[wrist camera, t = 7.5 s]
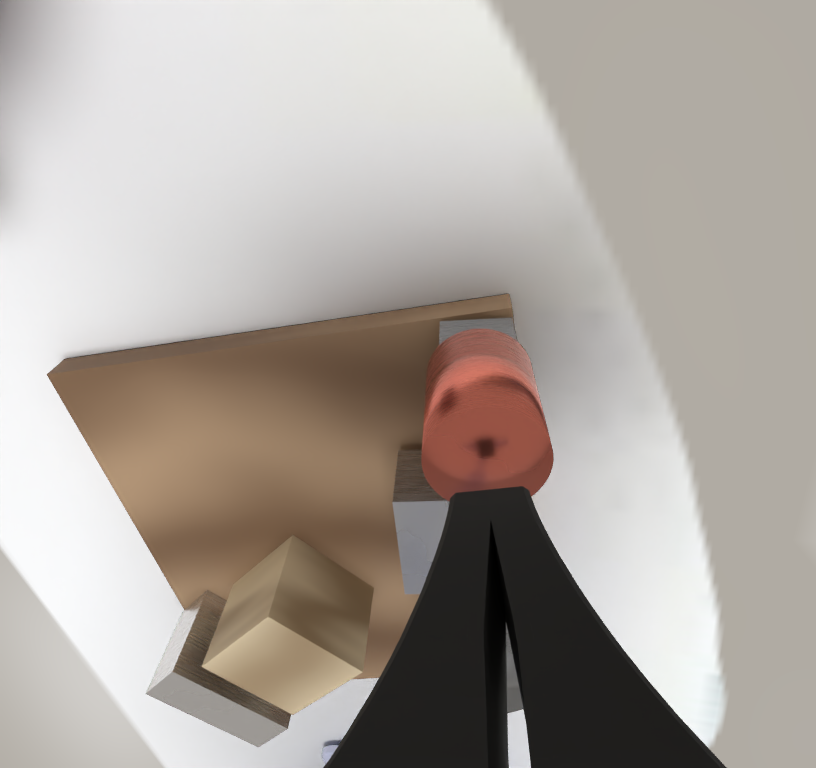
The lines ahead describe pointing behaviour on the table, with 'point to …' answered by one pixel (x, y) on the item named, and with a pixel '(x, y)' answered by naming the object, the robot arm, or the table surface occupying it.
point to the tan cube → (292, 628)
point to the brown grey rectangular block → (211, 680)
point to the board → (268, 446)
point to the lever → (470, 442)
